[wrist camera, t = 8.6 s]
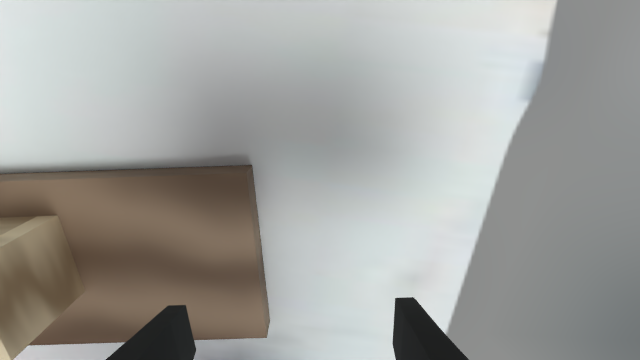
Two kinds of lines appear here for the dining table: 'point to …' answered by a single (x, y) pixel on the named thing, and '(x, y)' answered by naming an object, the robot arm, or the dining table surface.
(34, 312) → the open-ended tan box
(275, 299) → the dining table surface
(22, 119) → the dining table surface
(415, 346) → the robot arm
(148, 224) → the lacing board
